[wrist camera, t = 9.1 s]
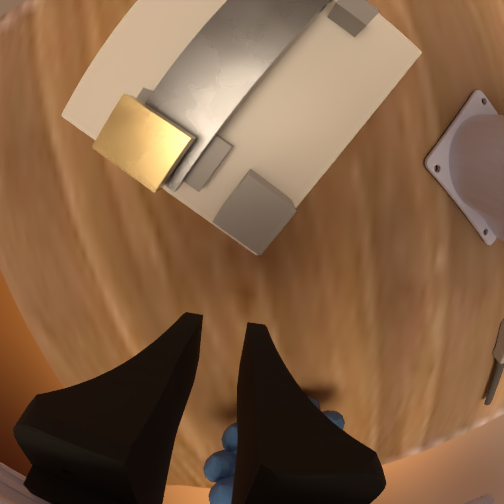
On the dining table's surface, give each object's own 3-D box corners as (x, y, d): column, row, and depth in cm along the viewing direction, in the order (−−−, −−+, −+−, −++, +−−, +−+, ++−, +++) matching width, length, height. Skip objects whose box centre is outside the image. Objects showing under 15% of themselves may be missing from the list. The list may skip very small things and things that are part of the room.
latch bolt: (196, 138, 14) (190, 138, 13) (162, 188, 15) (154, 192, 14) (133, 95, 13) (123, 93, 12) (102, 145, 14) (91, 147, 13)
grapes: (229, 438, 28) (218, 539, 17) (203, 397, 26) (180, 513, 15) (342, 416, 27) (364, 521, 16) (332, 370, 25) (361, 495, 13)
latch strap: (282, -43, 12) (283, -54, 10) (340, -8, 12) (346, -17, 11) (124, 149, 16) (113, 150, 15) (179, 188, 17) (172, 192, 15)
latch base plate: (412, 56, 16) (444, 43, 12) (257, 247, 21) (255, 275, 17) (220, -67, 13) (212, -100, 9) (72, 115, 18) (35, 116, 14)
